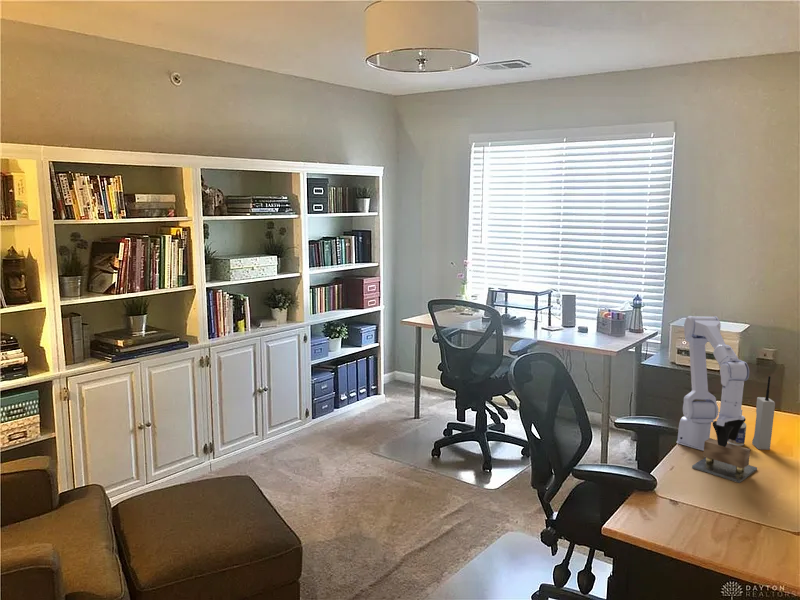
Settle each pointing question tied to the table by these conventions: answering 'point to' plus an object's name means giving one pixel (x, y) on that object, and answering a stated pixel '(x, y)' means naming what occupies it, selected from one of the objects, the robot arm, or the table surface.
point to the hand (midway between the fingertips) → (727, 442)
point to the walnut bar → (727, 453)
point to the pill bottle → (739, 436)
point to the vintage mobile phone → (764, 421)
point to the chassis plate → (724, 469)
